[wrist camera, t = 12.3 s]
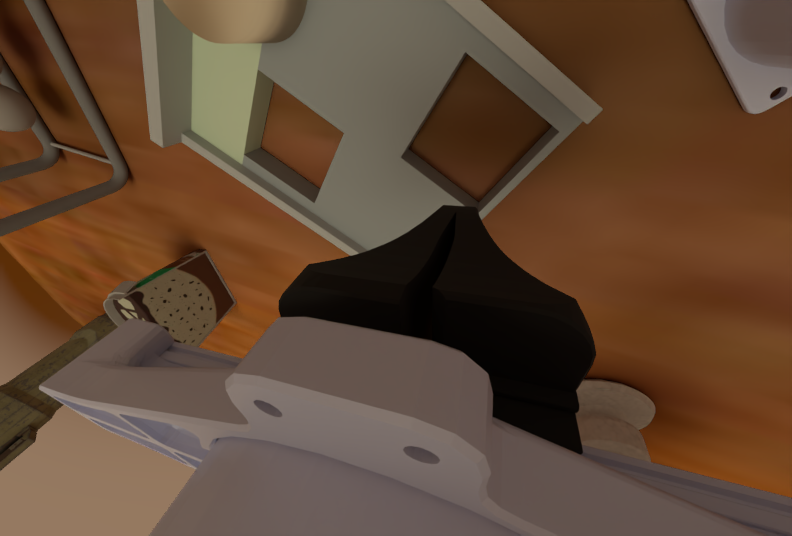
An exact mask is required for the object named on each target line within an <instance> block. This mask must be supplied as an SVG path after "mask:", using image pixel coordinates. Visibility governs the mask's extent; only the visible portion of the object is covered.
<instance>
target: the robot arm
mask: <svg viewBox="0 0 792 536" xmlns="http://www.w3.org/2000/svg"><path fill="white" fill-rule="evenodd" d="M687 1H688V3H689V5H690V7H691V9H692V11H693V13H694V15H695V17H696V19H697V21H698V23H699V25H700V27H701V29H702V31H703V32H704V34H705V36H706V38H707V40H708V42H709V44H710V46H711V48H712V50H713V52H714V54H715V56H716V58H717V60H718V62H719V63H720V65H721V67H722V69H723V71H724V73H725V75H726V77H727V79H728V81H729V83H730V85H731V87H732V89H733V91H734V93H735V95H736V96H737V98H738V100H739V102H740V104H741V106H742V108H743V110H744V111H745V112H748V113H752V114H757V113H761V112H764V111H766V110H768V109H770V108H772V107H773V106H775V105H777V104H779V103H781V102H782V101H784V100H786V99H788V98H789V97H791V96H792V0H687ZM779 87H781V91H780V92H779V94H777V95H776V96H775V97H773V98H770V95H771V93H772V92H773V91H774V90H775V89H777V88H779ZM279 312H280V315H281V317H279V318H278V319H277V320H276V321H275V322H274V323H273V324H272V325H271V326H270V327H269V328H268V329H267V330H266V331H265V333H264V334H263V335H262V336H261V337H260V339H259V340H258V341H257V342H256V344H255V345H254V346H253V347H252V348H251V350H250V351H249V352H248V353H247V355H246V356H245V357H244V358H243V359H242V358H238V357H234V356H230V355H226V354H222V353H218V352H214V351H210V350H206V349H202V348H198V347H194V346H190V345H186V344H183V343H179V342H175V341H174V338H173V337H172V336H171V334H170V333H169V332H168V331H167V330H166V329H165V328H163V327H162V326H160V325H158V324H155V323H152V322H148V321H143V320H139V319H135V318H130V319H128V320H127V321H126V322H124V323H123V324H122V325H120V326H119V327H118V328H116V329H115V330H114V331H112V332H111V333H110V334H108V335H107V336H105V337H104V338H103V339H101V340H100V341H99V342H97V343H96V344H95V345H93V346H92V347H91V348H89V349H88V350H87V351H85V352H84V353H82V354H81V355H80V356H78V357H77V358H76V359H74V360H73V361H72V362H70V363H69V364H68V365H66V366H65V367H64V368H62V369H61V370H60V371H58V372H57V373H55V374H54V375H53V376H51V377H50V378H49V379H47V380H46V381H45V382H43V383H42V384H41V385H39V390H41V391H43V392H44V393H46V394H48V395H49V396H51V397H53V398H54V399H56V400H57V401H59V402H61V403H62V404H64V405H66V406H67V407H69V408H71V409H72V410H74V411H76V412H77V413H79V414H80V415H82V416H84V417H85V418H87V419H89V420H90V421H92V422H94V423H95V424H97V425H98V426H100V427H102V428H104V429H105V430H107V431H110V432H112V433H114V434H117V435H119V436H122V437H124V438H126V439H129V440H131V441H133V442H136V443H138V444H140V445H143V446H145V447H147V448H150V449H152V450H154V451H156V452H158V453H161V454H163V455H165V456H167V457H170V458H172V459H174V460H176V461H178V462H180V463H183V464H185V465H187V466H189V467H191V468H193V469H196V471H195V472H194V473H193V475H192V476H191V478H190V479H189V480H188V482H187V483H186V485H185V486H184V487H183V489H182V490H181V491H180V493H179V494H178V496H177V497H176V498H175V500H174V501H173V503H172V504H171V505H170V507H169V508H168V510H167V511H166V512H165V514H164V515H163V517H162V518H161V520H160V521H159V522H158V523H157V525H156V526H155V528H154V529H153V530H152V532H151V533H150V535H149V536H792V498H790V497H786V496H782V495H778V494H774V493H771V492H767V491H763V490H759V489H755V488H751V487H747V486H743V485H739V484H735V483H731V482H727V481H723V480H719V479H715V478H711V477H707V476H703V475H700V474H696V473H692V472H688V471H684V470H680V469H676V468H672V467H668V466H664V465H660V464H656V463H652V462H648V461H644V460H640V459H636V458H632V457H628V456H625V455H621V454H617V453H613V452H609V451H605V450H601V449H597V448H593V447H589V446H585V445H582V443H581V438H580V433H579V428H578V423H577V419H576V414H575V413H577V412H578V411H579V406H580V405H579V401H578V396H577V392H576V390H577V389H578V387H579V386H580V384H581V382H582V381H583V379H584V378H585V376H586V374H587V373H588V371H589V370H590V368H591V366H592V365H593V362H594V359H595V356H596V351H595V345H594V340H593V337H592V334H591V331H590V328H589V326H588V323H587V321H586V319H585V317H584V315H583V313H582V311H581V309H580V307H579V305H578V303H577V301H576V299H574V298H572V297H570V296H568V295H566V294H564V293H562V292H560V291H558V290H556V289H554V288H552V287H550V286H548V285H546V284H545V283H543V282H541V281H540V280H538V279H537V278H535V277H533V276H532V275H530V274H529V273H527V272H526V271H524V270H523V269H522V268H520V267H519V266H518V265H517V264H515V263H514V262H513V261H512V260H511V259H510V258H508V257H507V256H506V255H505V254H504V253H503V252H502V251H501V250H500V248H499V247H498V246H497V245H496V243H495V242H494V241H493V239H492V238H491V236H490V235H489V233H488V232H487V230H486V228H485V226H484V225H483V223H482V221H481V218H480V216H479V213H478V209H477V208H476V207H470V206H452V205H443V206H441V207H440V208H439V209H438V210H437V211H435V212H434V213H433V214H432V215H430V216H429V217H428V218H427V219H425V220H424V221H423V222H422V223H420V224H419V225H417V226H416V227H414V228H413V229H411V230H410V231H408V232H407V233H405V234H403V235H402V236H400V237H398V238H396V239H394V240H392V241H390V242H388V243H386V244H384V245H381V246H378V247H376V248H373V249H371V250H368V251H365V252H362V253H359V254H356V255H352V256H348V257H345V258H341V259H336V260H331V261H325V262H320V263H314V264H309V265H308V266H307V267H306V268H305V269H304V270H303V271H302V272H301V273H300V275H299V276H298V277H297V278H296V279H295V280H294V281H293V283H292V284H291V285H290V286H289V287H288V288H287V289H286V291H285V292H284V293H283V294H282V296H281V298H280V300H279Z"/></svg>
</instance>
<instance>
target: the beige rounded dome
mask: <svg viewBox="0 0 792 536" xmlns="http://www.w3.org/2000/svg"><path fill="white" fill-rule="evenodd" d="M163 2H164V3H165V4H166V6H167V7H168V8H169V10H170V11H171V12H172V13H173V15H174V16H175V17H176V18H177V19H178V20H179V21H180V22H181V23H182V24H183V25H184V26H185V27H186V28H188V29H189V30H190V31H191V32H193V33H194V34H196V35H197V36H199V37H201V38H202V39H205V40H207V41H209V42H213V43H220V44H240V43H278V42H282V41H284V40H286V39H288V38H289V37H290V36H291V35H293V34H294V33H295V31H296V30H297V28H298V27H299V25H300V23H301V21H302V19H303V16H304V13H305V9H306V5H307V0H163Z"/></svg>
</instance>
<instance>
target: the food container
mask: <svg viewBox="0 0 792 536" xmlns="http://www.w3.org/2000/svg"><path fill="white" fill-rule="evenodd" d="M236 303H237V302H236V300H235V298H234V297H233V295H232V293H231V292H230V290H229V288H228V286H227V285H226V283H225V281H224V280H223V278H222V276H221V274H220V273H219V271H218V269H217V268H216V266H215V264H214V262H213V261H212V259H211V257H210V255H209V254H208V252H207V250H197V251H194V252H192V253H190V254H188V255H186V256H184V257H182V258H181V259H179V260H177V261H175V262H173V263H171V264H169V265H168V266H166V267H164V268H162V269H160V270H158V271H156V272H154V273H153V274H151V275H149V276H147V277H145V278H143V279H141V280H140V281H138V282H133V281H125V282H122V283H121V284H120V285H119V286H117V287H116V288H115V289H114V290H113V291H112V292H111V293H110V294H109V295H108V298H107V299H106V300H105V301H104V304H103V305H104V309H105V311H106V313H107V314H108V316H109V317H110V318H111V319H112V321H113V322H114V323H115V324H116V325H117V326H118V327H119V326H120V325H122V324H123V323H124V322H126V321H127V320H128V319H130V318H135V319H139V320H143V321H148V322H152V323H155V324H158V325H160V326H162V327H163V328H165V329H166V330H167V331H168V332H169V333H170V334H171V336H172V337H173V338H174V341H175V342H179V343H183V344H186V345H190V346H194V347H199V346H200V345H201V343H202V342H203V341H204V340H205V339H206V338H207V336H208V335H209V334H210V333H211V332H212V331H213V330H214V328H215V327H216V326H217V325H218V324H219V323H220V322H221V320H222V319H223V318H224V317H225V316H226V315H227V314H228V312H229V311H230V310H231V309H232V308H233V307H234V305H235V304H236Z"/></svg>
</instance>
